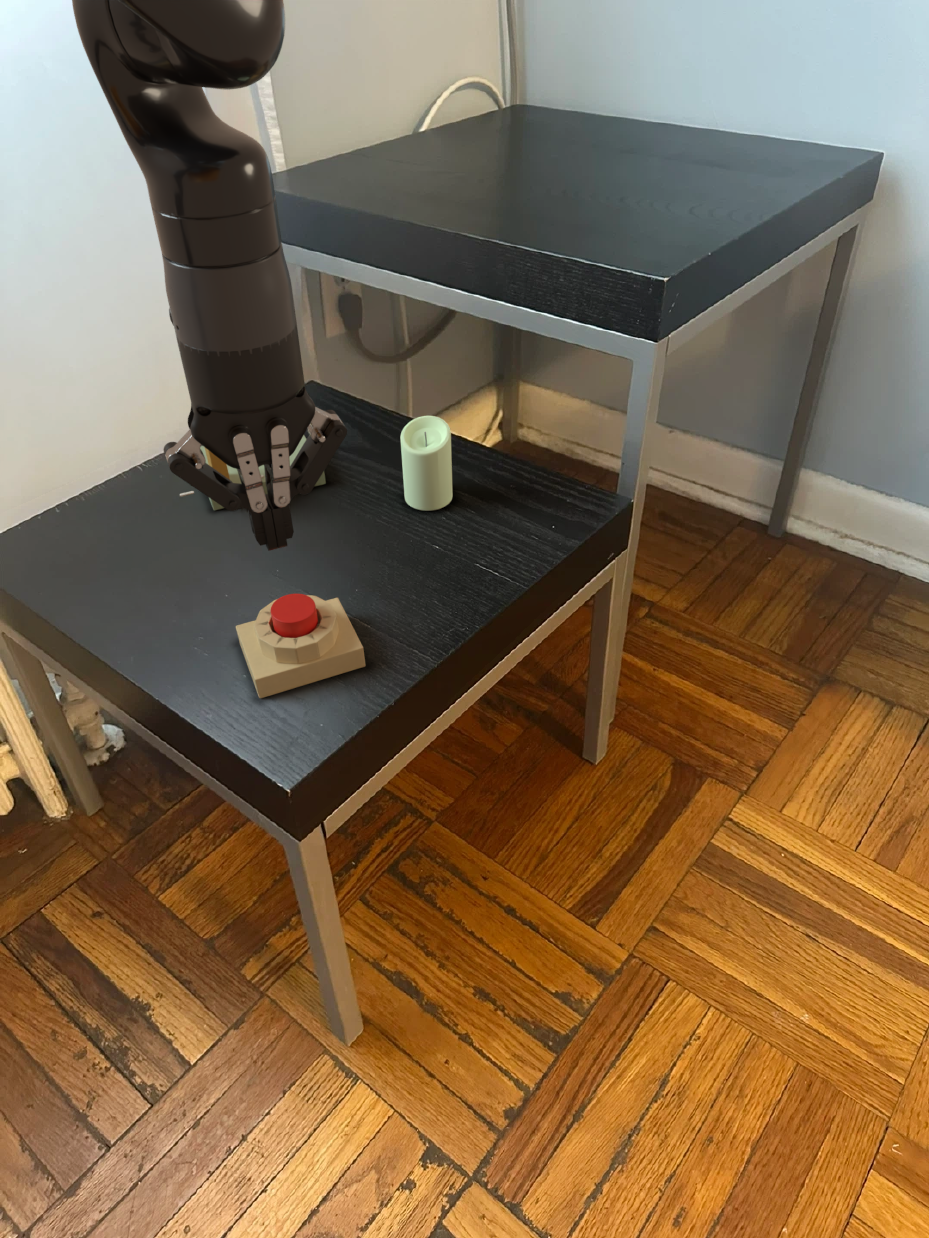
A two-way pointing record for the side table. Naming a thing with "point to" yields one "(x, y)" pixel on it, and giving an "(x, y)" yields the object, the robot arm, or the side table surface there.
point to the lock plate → (235, 476)
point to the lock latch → (217, 463)
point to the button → (294, 615)
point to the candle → (427, 463)
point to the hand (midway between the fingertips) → (275, 542)
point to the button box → (300, 649)
